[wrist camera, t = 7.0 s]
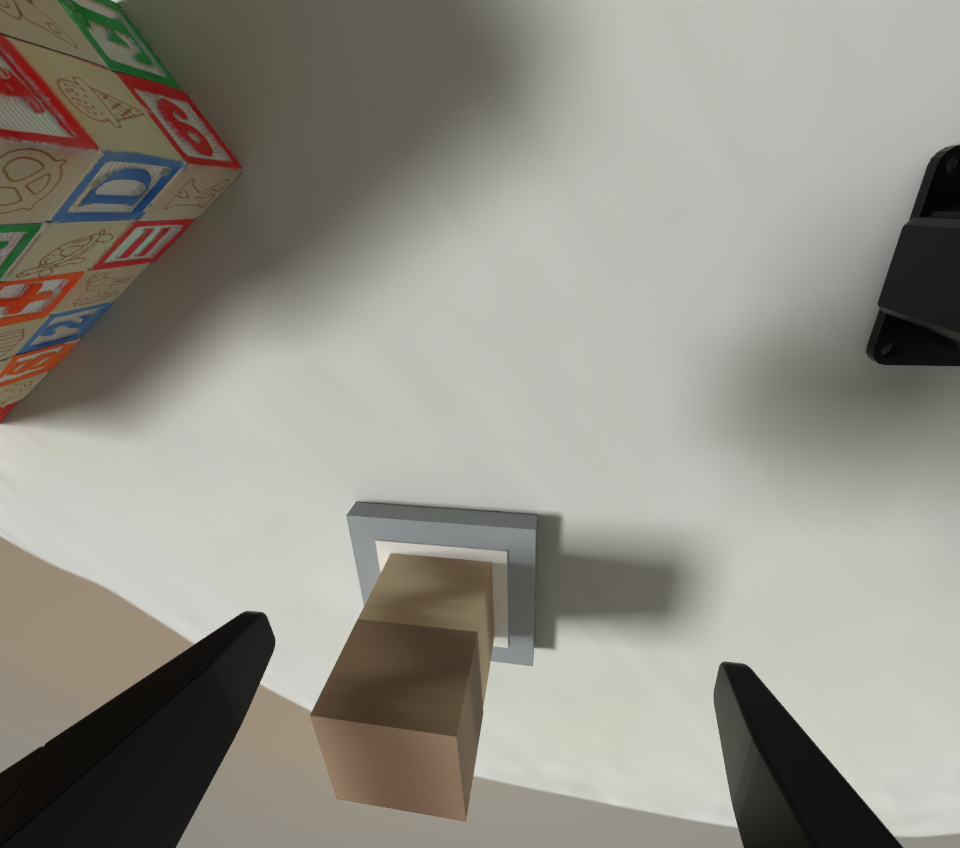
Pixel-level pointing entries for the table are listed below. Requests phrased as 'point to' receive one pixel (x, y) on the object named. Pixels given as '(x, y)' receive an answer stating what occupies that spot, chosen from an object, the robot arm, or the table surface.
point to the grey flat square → (458, 538)
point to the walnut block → (403, 718)
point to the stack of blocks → (87, 174)
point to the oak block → (437, 598)
